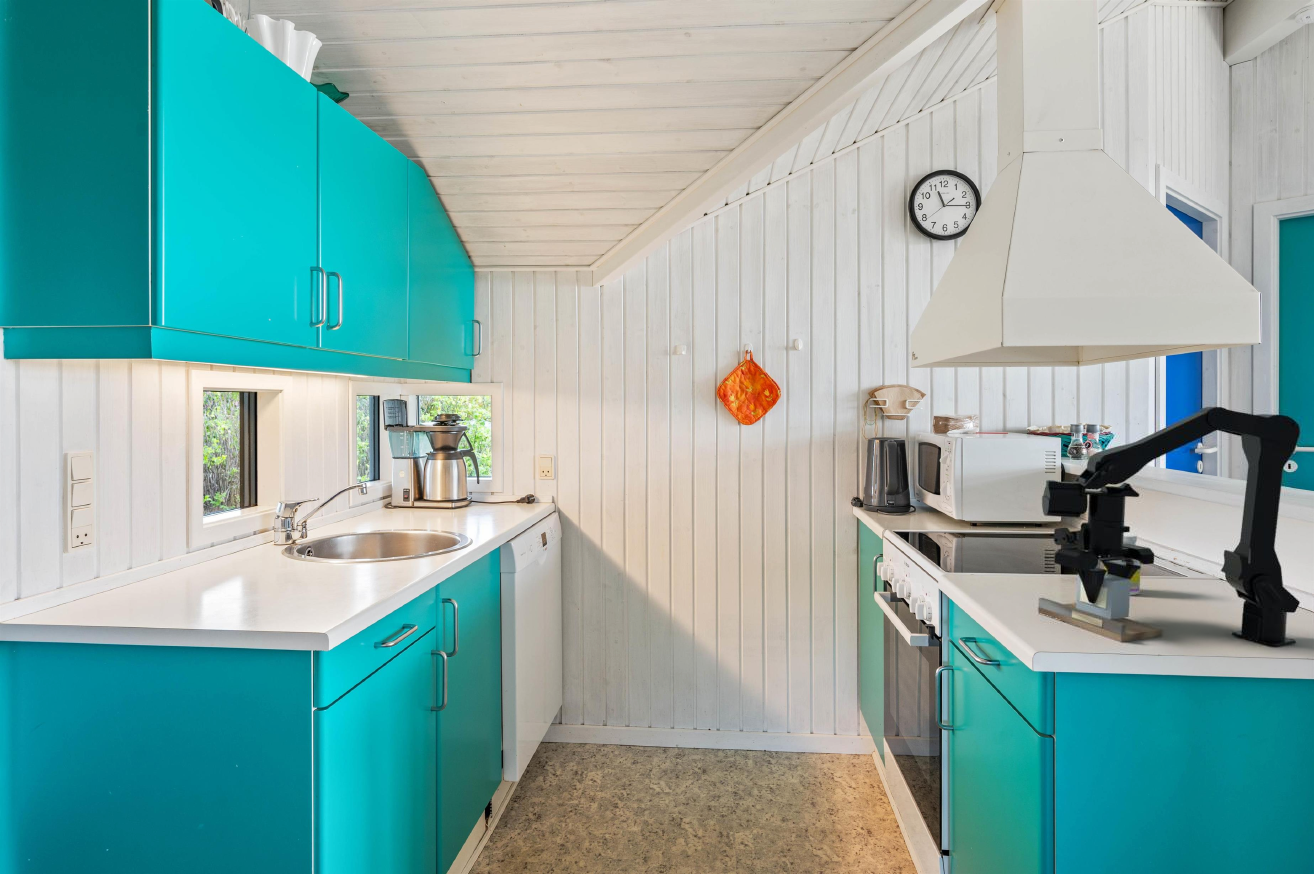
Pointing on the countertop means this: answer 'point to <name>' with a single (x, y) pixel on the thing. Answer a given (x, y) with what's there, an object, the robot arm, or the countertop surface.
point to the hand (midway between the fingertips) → (1102, 601)
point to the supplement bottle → (1136, 577)
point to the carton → (1107, 598)
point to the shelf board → (1098, 622)
